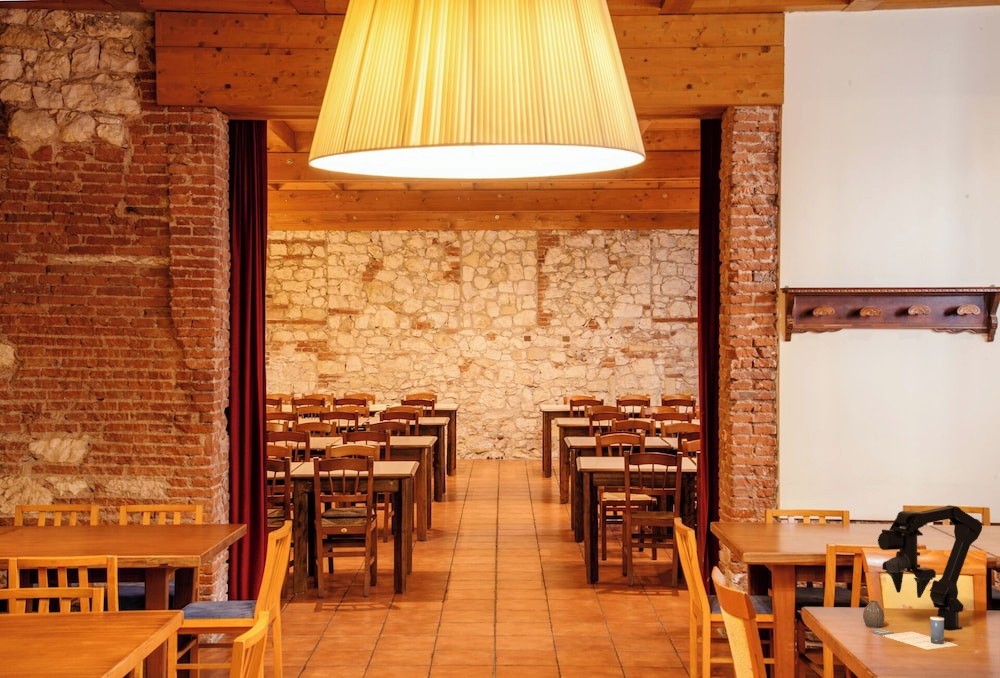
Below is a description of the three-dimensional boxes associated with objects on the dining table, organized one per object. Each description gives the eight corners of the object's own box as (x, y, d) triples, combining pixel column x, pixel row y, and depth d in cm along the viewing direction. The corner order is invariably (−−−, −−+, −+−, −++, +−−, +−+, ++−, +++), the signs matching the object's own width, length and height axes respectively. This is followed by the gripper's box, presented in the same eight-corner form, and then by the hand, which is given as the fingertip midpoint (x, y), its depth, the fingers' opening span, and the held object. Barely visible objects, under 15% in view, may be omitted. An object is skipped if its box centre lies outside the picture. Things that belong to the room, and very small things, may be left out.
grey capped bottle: (936, 640, 339) (936, 615, 340) (947, 643, 335) (947, 618, 336) (927, 641, 338) (927, 616, 338) (937, 644, 334) (937, 619, 334)
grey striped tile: (883, 630, 354) (883, 629, 354) (893, 633, 350) (893, 632, 350) (870, 632, 351) (870, 630, 351) (880, 635, 347) (880, 633, 347)
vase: (885, 629, 355) (885, 603, 356) (864, 628, 357) (864, 602, 357) (882, 624, 362) (882, 599, 362) (861, 623, 363) (861, 598, 364)
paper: (912, 632, 351) (912, 631, 351) (957, 645, 334) (957, 644, 334) (882, 636, 346) (882, 635, 346) (927, 649, 329) (927, 648, 329)
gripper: (870, 546, 360) (870, 591, 360) (911, 554, 343) (912, 602, 343) (894, 544, 365) (894, 589, 364) (936, 552, 348) (937, 599, 347)
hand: (908, 595), depth 354 cm, fingers open, 9 cm apart
